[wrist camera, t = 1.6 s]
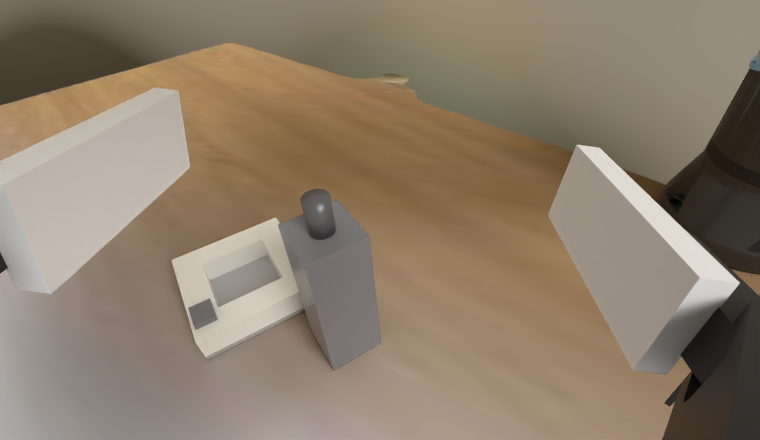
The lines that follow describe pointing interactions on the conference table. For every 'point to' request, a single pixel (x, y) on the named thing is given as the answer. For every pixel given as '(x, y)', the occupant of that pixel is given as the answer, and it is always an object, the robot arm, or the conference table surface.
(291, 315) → the socket
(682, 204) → the robot arm
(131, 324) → the conference table surface
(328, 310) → the plug
